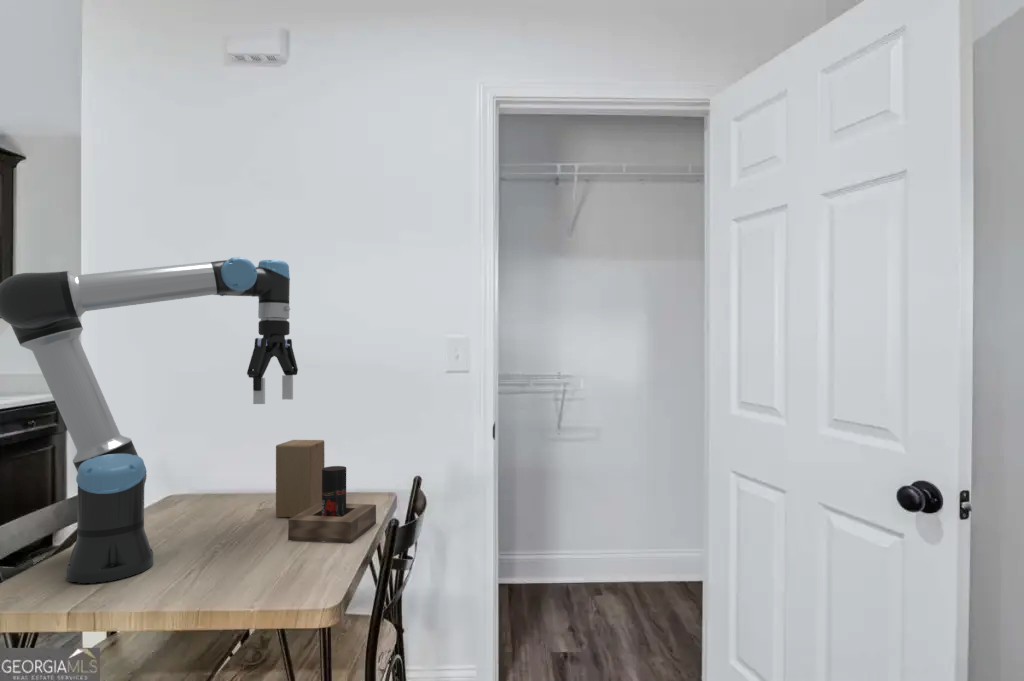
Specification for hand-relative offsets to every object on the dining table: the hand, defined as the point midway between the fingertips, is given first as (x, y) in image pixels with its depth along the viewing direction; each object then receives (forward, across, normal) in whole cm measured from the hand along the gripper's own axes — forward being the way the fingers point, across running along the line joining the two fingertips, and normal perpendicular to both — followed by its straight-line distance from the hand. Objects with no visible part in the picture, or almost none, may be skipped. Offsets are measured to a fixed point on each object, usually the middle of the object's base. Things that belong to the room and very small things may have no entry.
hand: (274, 401), depth 153 cm
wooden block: (+33, +14, 0) cm, 36 cm away
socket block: (+33, -1, -17) cm, 37 cm away
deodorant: (+32, -1, -17) cm, 36 cm away
